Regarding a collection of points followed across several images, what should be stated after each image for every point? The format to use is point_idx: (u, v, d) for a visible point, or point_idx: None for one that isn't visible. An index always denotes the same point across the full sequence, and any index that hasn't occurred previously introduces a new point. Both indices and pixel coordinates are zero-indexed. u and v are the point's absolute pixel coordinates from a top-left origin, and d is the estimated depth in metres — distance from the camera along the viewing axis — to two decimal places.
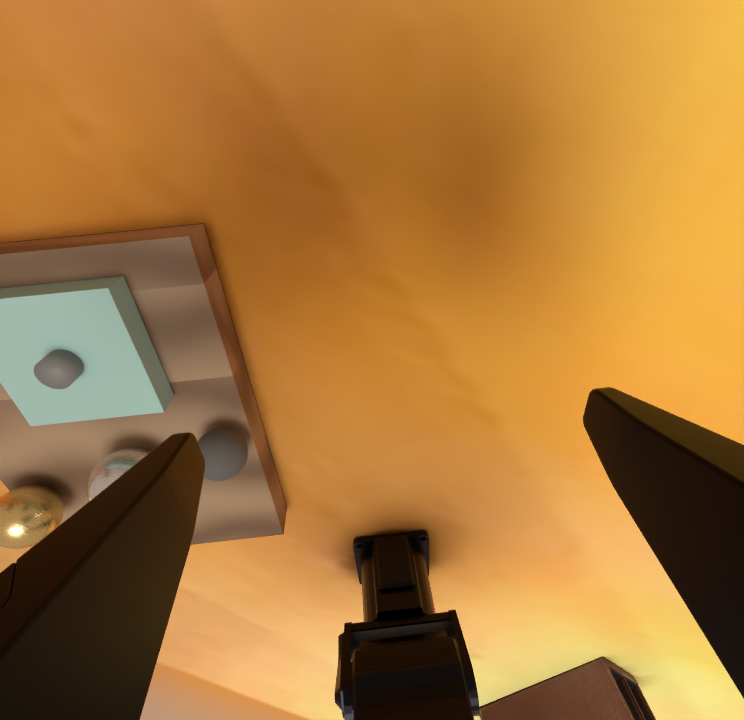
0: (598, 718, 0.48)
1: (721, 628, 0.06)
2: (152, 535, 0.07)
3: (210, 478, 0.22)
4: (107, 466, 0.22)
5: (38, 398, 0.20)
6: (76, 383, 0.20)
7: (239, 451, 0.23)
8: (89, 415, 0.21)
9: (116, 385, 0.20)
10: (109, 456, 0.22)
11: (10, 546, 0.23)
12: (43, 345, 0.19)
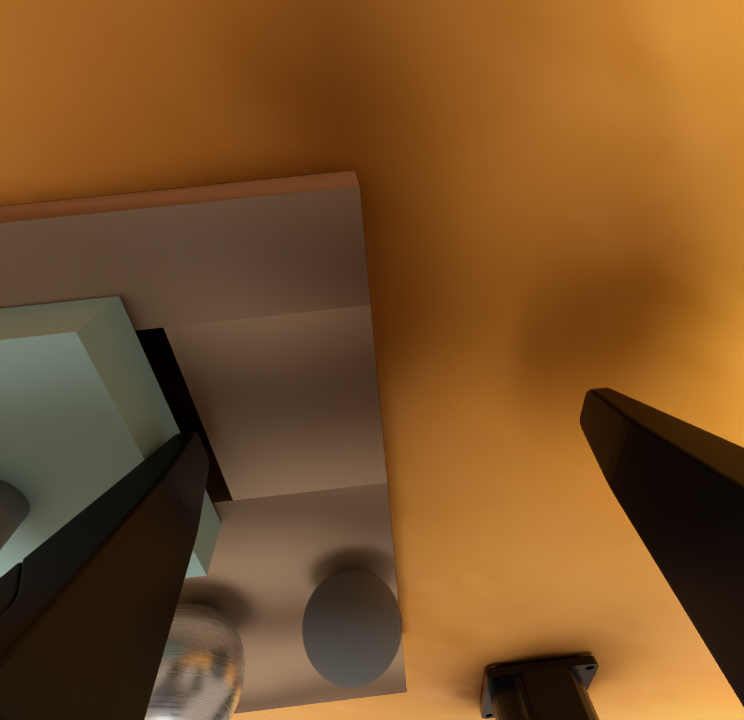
0: None
1: (716, 628, 0.06)
2: (157, 535, 0.07)
3: (342, 686, 0.11)
4: None
5: None
6: (15, 535, 0.09)
7: (396, 628, 0.11)
8: None
9: None
10: None
11: None
12: None
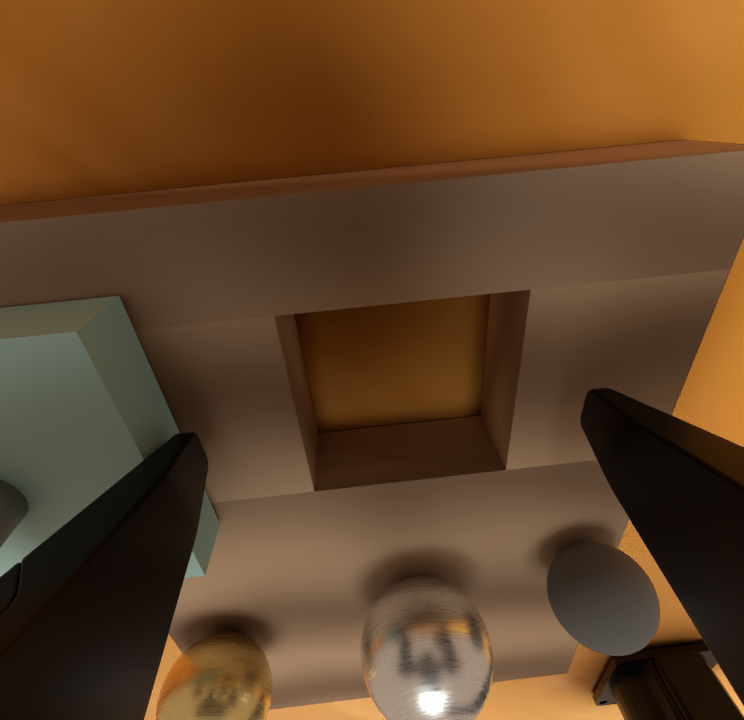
0: None
1: (717, 628, 0.06)
2: (156, 534, 0.07)
3: (610, 654, 0.11)
4: (422, 638, 0.11)
5: None
6: (13, 534, 0.09)
7: None
8: None
9: None
10: (408, 608, 0.12)
11: None
12: None
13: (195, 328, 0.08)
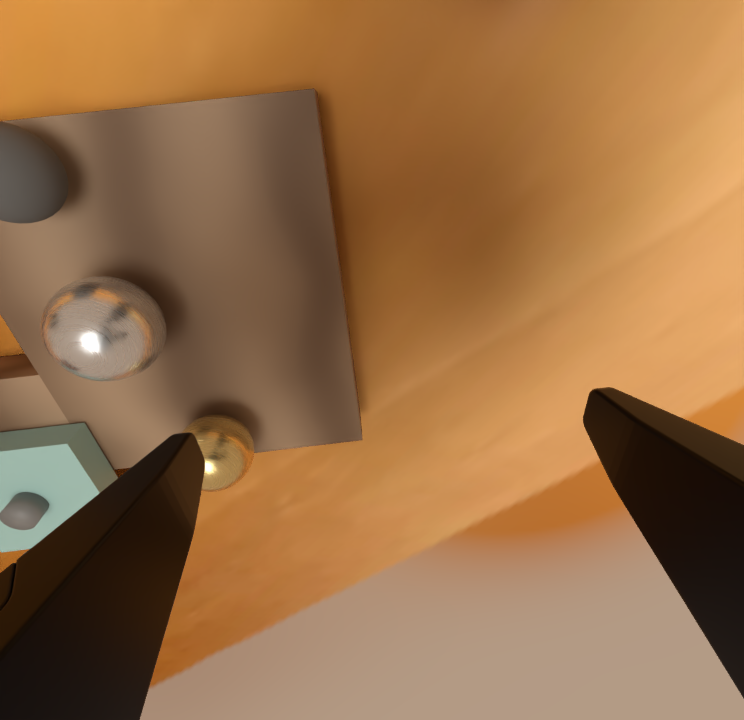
0: None
1: (721, 628, 0.06)
2: (152, 535, 0.07)
3: None
4: None
5: None
6: (54, 500, 0.20)
7: None
8: None
9: (43, 474, 0.19)
10: None
11: (214, 479, 0.18)
12: None
13: None
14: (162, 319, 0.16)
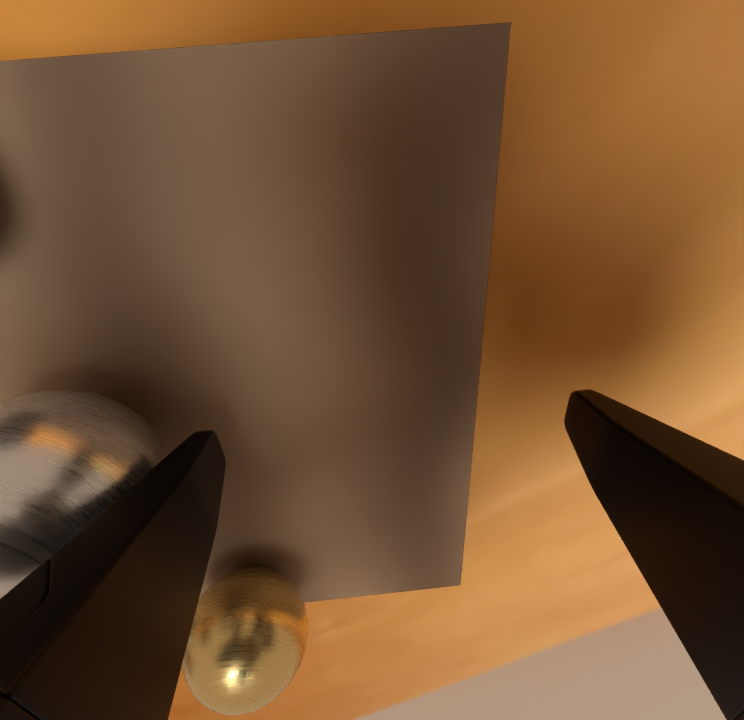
0: None
1: (694, 631, 0.06)
2: (179, 532, 0.07)
3: None
4: None
5: None
6: None
7: None
8: None
9: None
10: None
11: (249, 707, 0.10)
12: None
13: None
14: None
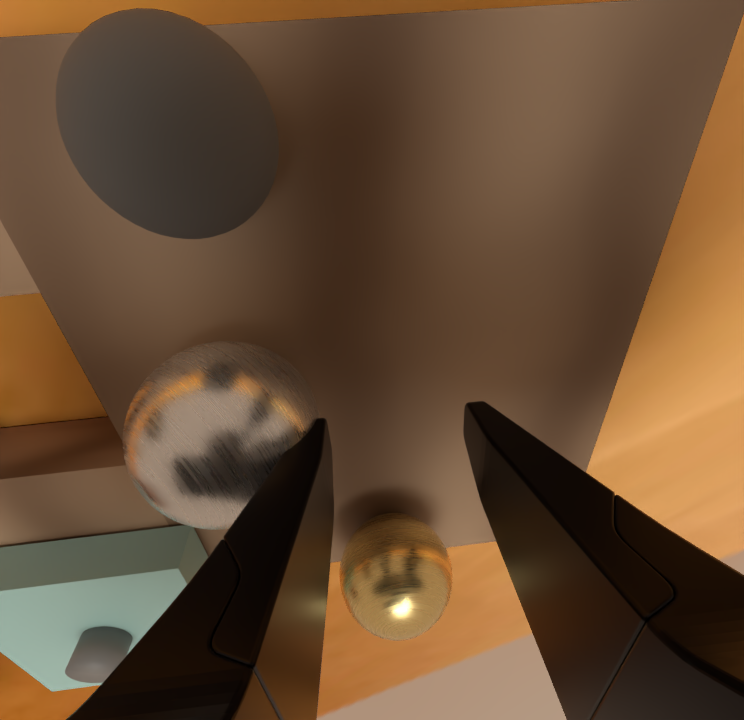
0: None
1: (549, 649, 0.06)
2: (319, 517, 0.07)
3: (190, 175, 0.05)
4: None
5: None
6: (142, 633, 0.14)
7: (92, 25, 0.05)
8: None
9: (132, 605, 0.13)
10: None
11: (418, 630, 0.12)
12: None
13: None
14: None
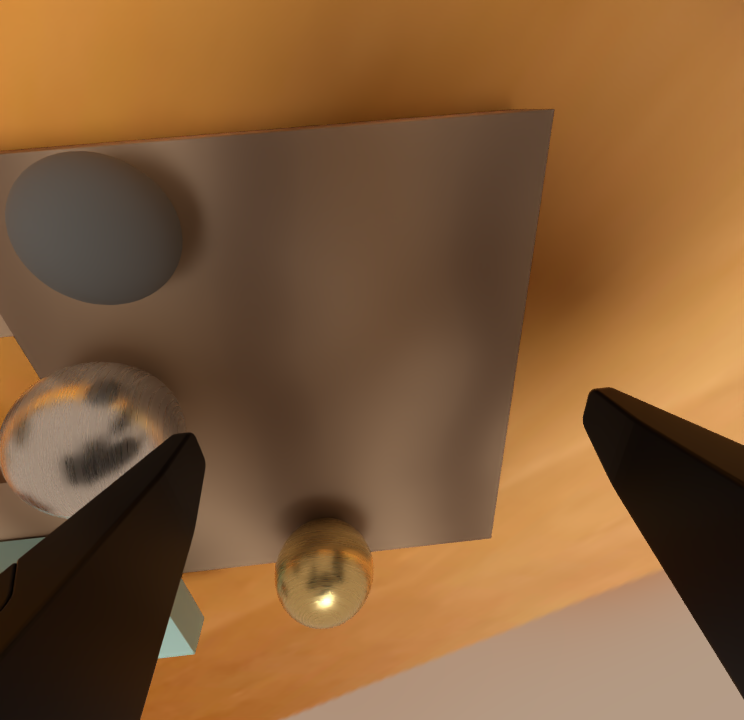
0: None
1: (720, 628, 0.06)
2: (152, 535, 0.07)
3: (98, 269, 0.07)
4: None
5: None
6: None
7: (29, 168, 0.07)
8: None
9: None
10: None
11: (335, 620, 0.13)
12: None
13: None
14: (79, 480, 0.09)
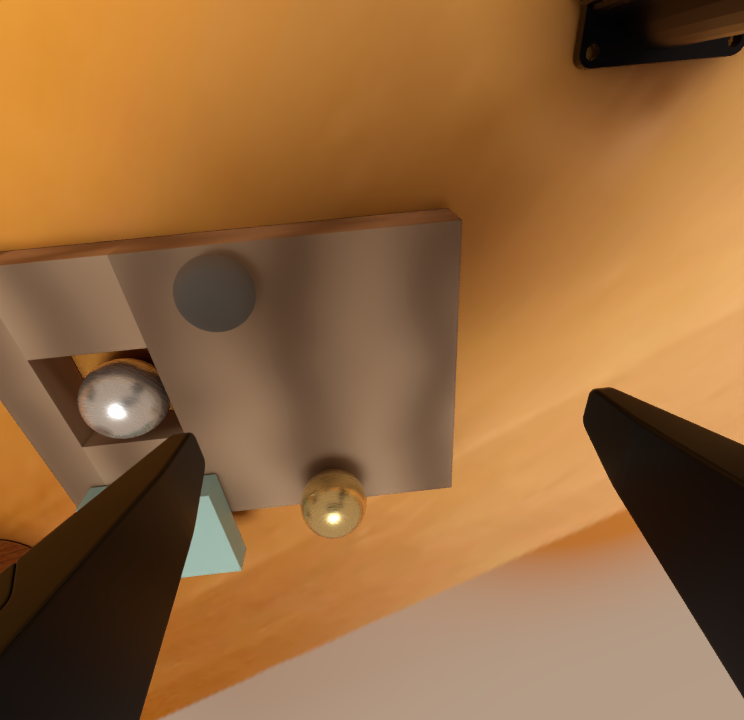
0: None
1: (721, 628, 0.06)
2: (152, 535, 0.07)
3: (221, 316, 0.15)
4: None
5: (208, 561, 0.24)
6: None
7: (187, 266, 0.14)
8: (222, 540, 0.23)
9: None
10: None
11: (341, 530, 0.21)
12: None
13: (97, 469, 0.22)
14: (111, 384, 0.18)
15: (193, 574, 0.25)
